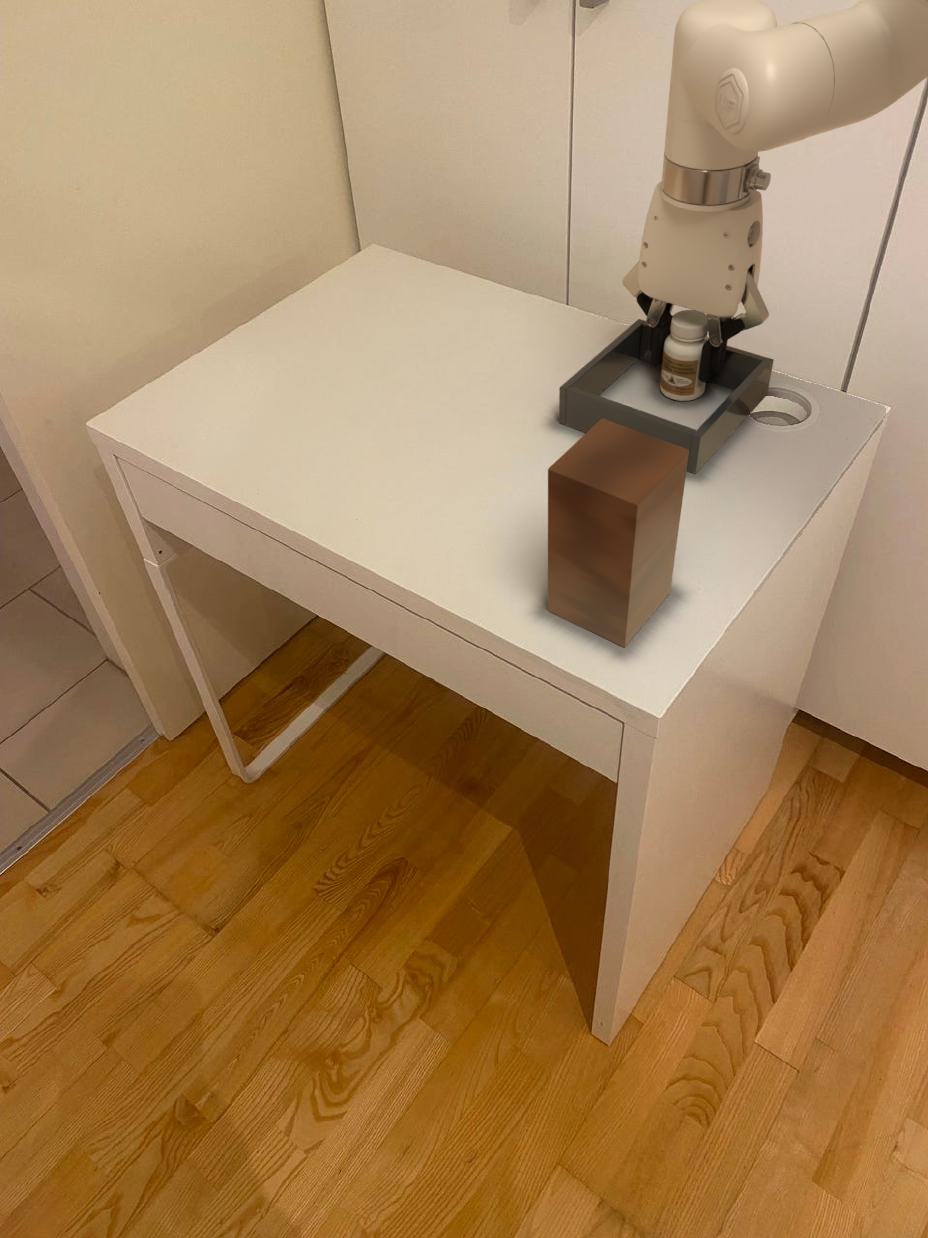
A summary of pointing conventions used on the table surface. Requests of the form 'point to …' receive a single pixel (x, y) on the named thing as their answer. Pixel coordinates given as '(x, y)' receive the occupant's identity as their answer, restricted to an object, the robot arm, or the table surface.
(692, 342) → the pill bottle
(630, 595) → the display block
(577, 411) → the tray
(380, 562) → the table surface
